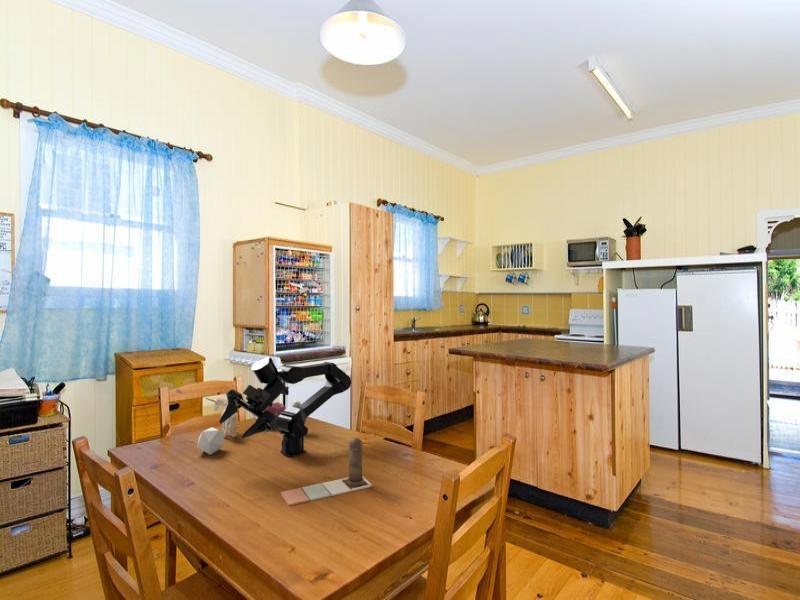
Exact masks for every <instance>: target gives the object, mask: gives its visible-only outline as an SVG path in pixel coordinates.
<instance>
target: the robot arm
mask: <svg viewBox="0 0 800 600" xmlns="http://www.w3.org/2000/svg"><path fill="white" fill-rule="evenodd" d="M251 370H252V372H253V373H254V375H255V377H256V378H257V379H258V382H259V383H260V384H265V385H264V386H262V387H257V388H256V387H254V386H253V385H251V384H248V385H247V387H246V388H245V389H244V390H243V392H242V393H241V392H239V391H238V390H236V389H235V388H234V389H230V390H229V391H227V392H226V393H225V395H226V400H227V401H228V405H227V408H226V410H225V412H224V414H223V415H222V417H221V416H220V419H219V421H218V422H219V424H222V423H223V422H225V421H226V420H227V419H228V418H230V417H231V416H232V415H234V414H235V413H237V412H238V411H239V409H241V408H243V409H244V410H246V411H248V412H249V413H251V414H252V415H253V414H254V415H255V416H257V417H258V418H257V420H256V419H255V422H254V423H253V424H252V425H251V426H250V427H248V429H247V430H246V431H244V433H242V435H241V439H243V440H244V439H246V438H248V437H252V436H253V435H257V434H260V433H262V432H266V433H267V432H269V431H270V432H274V431H275V430H276V429H278V430H279V434H281V435H282V440H281V450H280V453H281V454H283V455H285V456H287V457H289V458H290V457H295V456H298V455H301V454H305V453H307V450H306V449H305V446H304V445H305V444H304V443H305V436H307V435H308V431H309V428H308V427H307V426H305V423H306V421H307V419H308V418H309V416H310V415H312V414H313V413H314V412H315V411H317V410H318V409H319V408H320V407H322V406H323V405H324V404H325V403H326V402H328V401H329V400H330V399H331V398H332V397H334V396H336V395H338V394H342V393H344V392H346V391H348V390H349V389H350V387H351V386H352V379H351V377H350V375H348V374H347V373H346V372H345V371H344V370H342V369H341V368H339V367H338V366H337V364H335V363H334V362H330V361H329V362H328V361H324V362H321V363H314V364H308V365H302V366H299V365H298V366H297V365H289V364H287V365H285V364H283V365H280V366H279V367H278V368H277V366H276V365H275V363H274V360H273V359H272V357H269V356H267V357H265V358H263V359H260V360H258V361H256V362H255V363H253V364H252V365H251ZM323 375H324V378H325V385H323V387H321V388H320V389H319V390H318V391H316V392H314V394H312V395H311V396H310V397H309V398H307V399H306V400H304V401H303V402H302V403H301V405H300V406H298V407H297V408H295V407H292V406H291V405H288V406H287V407H286V409H285V410H284V411H283V412H280V413H281V414H280V415H279V416H278V418H277V419H276V415H274V414H273V413H271V412H269V411H268V410H267V411H264V410H265V409H266V408H267V407H268V406H269V407H271V406H272V405H273V404H272V402H273V403H274V401H275V400H277V398H278V397H279V396H280V395H285V396H289V394H290V393H289V389H290V387H289V386H286V384H290V385H296V384H298V383H299V382H302V381H303V380H305V379H308V378H311V377H317V376H323ZM285 383H286V384H285ZM243 395H245V399H246V400H247V401H246V400H244V397H243ZM263 411H264V412H263ZM254 415H253V416H254Z"/></svg>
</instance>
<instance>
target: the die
mask: <svg viewBox="0 0 800 600" xmlns="http://www.w3.org/2000/svg"><path fill="white" fill-rule="evenodd" d="M224 436H225V435H224V434H223V433H222V431H220V430H219V429H217V428H215V427H213V426H212V427H209V428H208V429H205V430H203V431H202V432H201V434H200V435H199V437H198V441H197V445H196V447H197V448H198V449H199V450H201V451H203V452H204V453H206V454H208V455H209V456H210V455H213V454H214V453H216V452H218V451H220V450H221V449H222V447H223V445H224V444H225V443H224V442H225V438H224Z"/></svg>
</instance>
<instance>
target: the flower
mask: <svg viewBox="0 0 800 600" xmlns="http://www.w3.org/2000/svg"><path fill="white" fill-rule="evenodd" d="M272 404H273V405H272V406H271V407H269V406H268V407H267V408H266V409H265V410H264V411H267V410H268V411H269V412H271V413H273V414H274V415H276V419H277V418H278V416H279V415H280V414H281V413H280V412H283V411H284V410H285V409H286V408H287V407H286V406H285V405H284V404H283V403H281V402H279V401H277V402H274V401H273V402H272ZM264 411H263V412H264ZM252 416H253V417H252V418H253V419H254V420H255V421H256V420H257V418H258V417H257V416H255V415H254V414H252Z"/></svg>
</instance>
